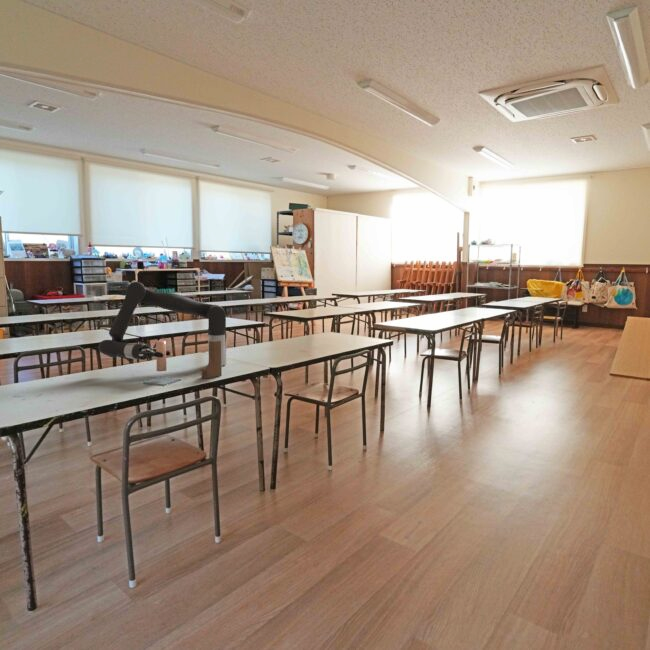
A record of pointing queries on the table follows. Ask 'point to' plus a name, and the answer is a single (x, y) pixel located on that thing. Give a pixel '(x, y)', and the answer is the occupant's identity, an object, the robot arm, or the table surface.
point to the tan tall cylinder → (161, 360)
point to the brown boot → (213, 360)
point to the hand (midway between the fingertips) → (166, 354)
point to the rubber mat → (161, 380)
